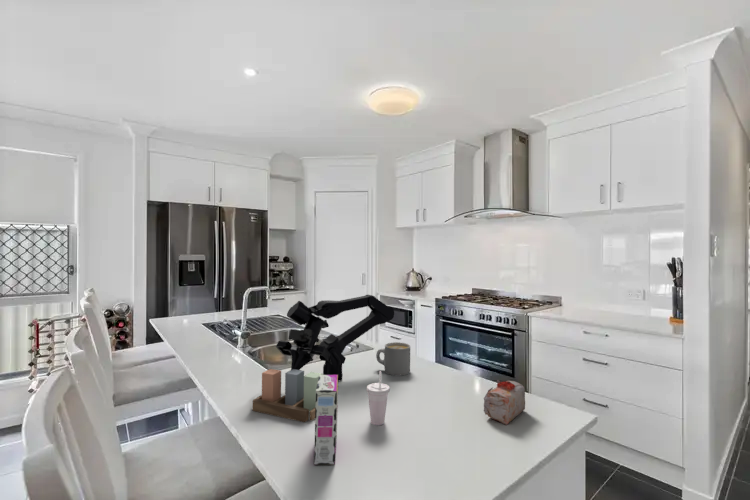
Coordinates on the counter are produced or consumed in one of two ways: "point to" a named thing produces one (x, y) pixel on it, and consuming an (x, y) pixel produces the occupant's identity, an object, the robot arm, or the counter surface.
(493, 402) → the food item
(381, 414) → the smoothie
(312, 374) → the sage key
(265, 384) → the pink rectangular block
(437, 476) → the counter surface
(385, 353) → the coffee mug
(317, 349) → the robot arm
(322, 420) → the candy bar box
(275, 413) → the wooden slotted rack
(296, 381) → the grey tall block
